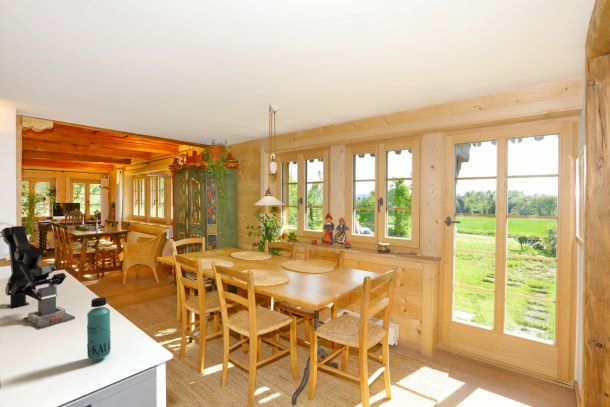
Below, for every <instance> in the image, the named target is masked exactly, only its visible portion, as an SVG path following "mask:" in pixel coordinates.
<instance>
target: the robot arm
mask: <svg viewBox="0 0 610 407" xmlns="http://www.w3.org/2000/svg"><path fill="white" fill-rule="evenodd" d="M0 234H1V238H3V242H4V243H5V244H6V245H7V246H8V251H9V260H10V270H11V275H10V276H9V278H8V279H7V283H6V286H5V290H4V291H5V292H4V293H5V295H6V296H8V297H9V296H10V298H9V300H10V302H9V303H10V304H7V307H9V308H11V309H14V308H19V307H23V306H28V305H30V302H27V297H30V298H33V299H35V300H36V301H37V302H38V301H41V300H42V298H41V296H40V294H39V293H38V289H37V288H36V287H39V286H43V285H48V287H49V286H53V287H56V297H58V287H57V286H59V285H62V284H63V282H64V281H65V279H66V278H67V275H66V274H65V273H64V272H60V273H56V274H55V273H54V274H53V276H52V277H51V278H49V277H50V274H52V273H53V272H55V271H56V270H57V268H56V265H55V264H54V263H50V264H48V265H45V266H40V265H39V263H40V261H41V258H42V255H43V249H40V248H39V247H36V245H34V244H31V243H30V241H29V238H28V236H27V227H26V226H24V225H15V226H13V225H12V226H10V227H4V228H2V229H1V231H0Z"/></svg>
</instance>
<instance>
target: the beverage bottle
mask: <svg viewBox="0 0 610 407" xmlns="http://www.w3.org/2000/svg"><path fill="white" fill-rule="evenodd" d="M106 305H107V299H106V297H104V296H100V297H96V298H92V299H91V304H90V306H91V307H92V309H91V310H89V312H87V314H86V316H87V325H86V333H87V337H86V338H87V343H86V344H87V345H86V349H87V350H86V351H87V352H86V353H87V358H88V360H100V359H102V358H103V359H104V358H105V357H106V356H108V355H110V353H111V349H112V347H111V336H112V335H111V309H109V308H108V307H106Z"/></svg>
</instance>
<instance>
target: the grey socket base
mask: <svg viewBox="0 0 610 407" xmlns="http://www.w3.org/2000/svg"><path fill="white" fill-rule="evenodd" d="M66 312H67V310H66V308H63V307H62V306H56V312H54V313H50V314H46V315H42V316H41V315H39V314H38V310H36V311H31V312H28V314H27V316H24V317H23V318H22V319H23V320H22V321H25V322H26V323H28V324H29V325H32V326H34V327H36V328H38V329H40V330H42V329H46V328H49V327H52V326H56V325H60V324H62V323H65V322H69V321H73V320H75V319H76V316H74V315H73V314H72V315H71V314H70V313H66Z"/></svg>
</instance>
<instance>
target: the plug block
mask: <svg viewBox="0 0 610 407" xmlns="http://www.w3.org/2000/svg"><path fill="white" fill-rule="evenodd" d="M37 291H38V293H39V294H40V296H41V298H42V300H41V301H38V300H37V311H38V314H39V315H41V316H42V315H46V314H50V313H54V312H56V307H57V296H56V287H53V286H49V285H48V286H46V287H40V288H37Z"/></svg>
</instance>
